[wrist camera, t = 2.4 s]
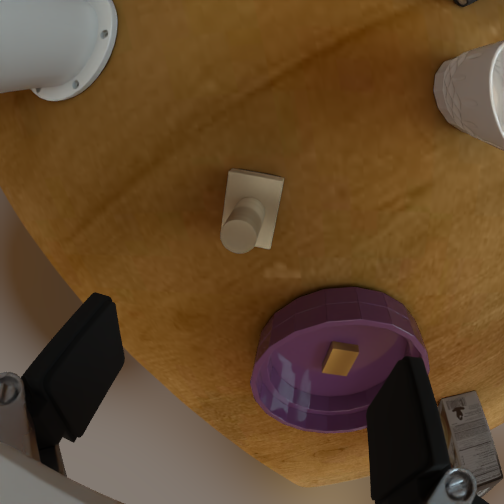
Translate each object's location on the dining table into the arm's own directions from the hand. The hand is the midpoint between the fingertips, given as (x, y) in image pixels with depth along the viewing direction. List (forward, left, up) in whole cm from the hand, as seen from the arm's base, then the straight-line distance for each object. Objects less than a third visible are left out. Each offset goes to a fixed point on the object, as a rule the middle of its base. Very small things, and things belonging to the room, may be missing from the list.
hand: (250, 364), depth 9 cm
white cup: (+14, +13, -19) cm, 27 cm away
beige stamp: (-2, -1, -19) cm, 19 cm away
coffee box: (+33, -26, -19) cm, 46 cm away
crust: (+10, -16, -18) cm, 26 cm away
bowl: (+10, -16, -19) cm, 27 cm away
